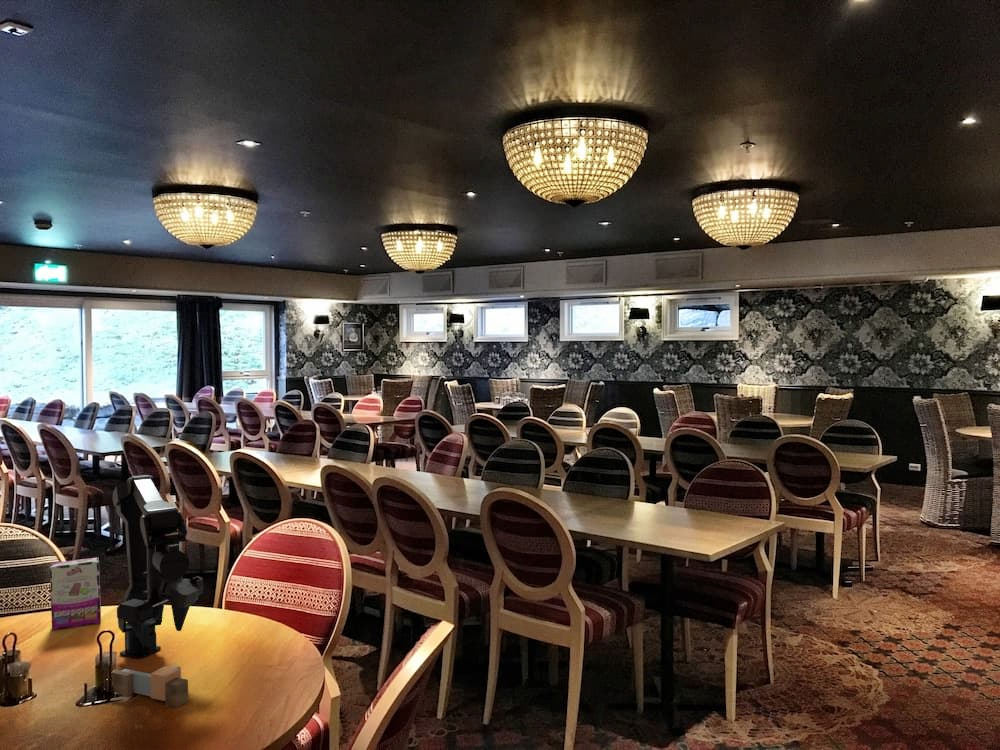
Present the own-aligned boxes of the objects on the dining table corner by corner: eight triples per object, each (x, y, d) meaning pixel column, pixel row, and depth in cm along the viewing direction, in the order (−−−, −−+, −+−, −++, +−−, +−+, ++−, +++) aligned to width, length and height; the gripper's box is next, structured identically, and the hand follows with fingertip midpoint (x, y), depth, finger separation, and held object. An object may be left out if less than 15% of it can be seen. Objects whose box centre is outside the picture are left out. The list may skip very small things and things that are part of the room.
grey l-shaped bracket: (120, 689, 161) (120, 671, 161) (146, 677, 167) (145, 658, 167) (155, 697, 158) (155, 678, 157) (180, 684, 164) (180, 665, 164)
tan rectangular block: (150, 697, 156) (150, 673, 156) (166, 689, 160) (165, 665, 160) (166, 701, 155) (165, 676, 155) (181, 692, 159) (180, 668, 158)
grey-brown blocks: (102, 691, 161) (101, 670, 161) (114, 685, 164) (113, 664, 164) (177, 707, 154) (176, 685, 154) (188, 701, 156) (187, 679, 156)
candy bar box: (100, 617, 205) (99, 556, 204) (101, 623, 200) (99, 561, 200) (52, 624, 200) (50, 561, 199) (51, 631, 195) (49, 566, 194)
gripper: (156, 584, 153) (157, 662, 153) (222, 559, 170) (223, 628, 171) (114, 577, 157) (115, 652, 158) (183, 553, 174) (184, 621, 175)
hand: (162, 638), depth 165 cm, fingers open, 9 cm apart
